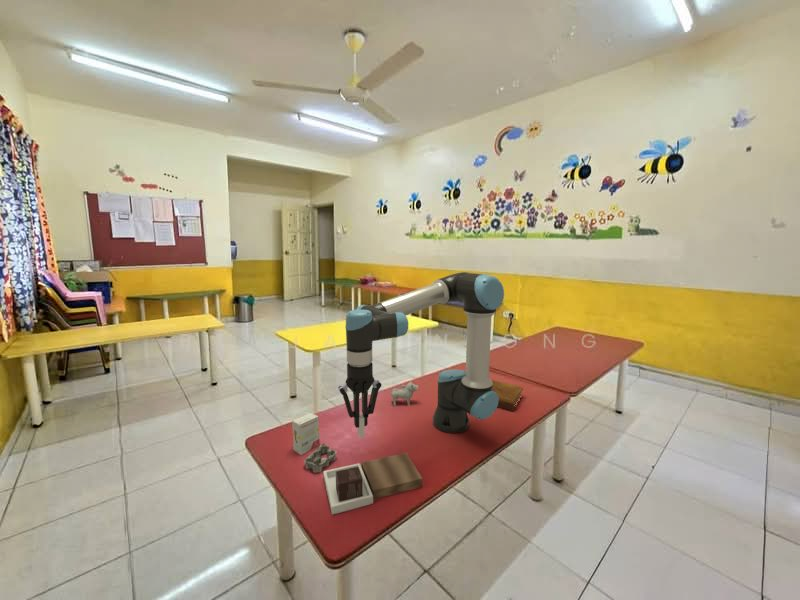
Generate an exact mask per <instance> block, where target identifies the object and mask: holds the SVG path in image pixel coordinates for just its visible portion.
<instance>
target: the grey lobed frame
mask: <svg viewBox="0 0 800 600" xmlns="http://www.w3.org/2000/svg"><path fill="white" fill-rule="evenodd" d="M316 448H317V449H315V450H314V451H313V452H311V453H310V454H309V455H308V456H307V457H306V458H305V459H304V460H303V462H304V464H305V469H306V470H310V469H311V470H312V473H314V474H316V473H322V471H323V468H324V467H329V466H330V462H335V461H336V460H337V459H336V454H337V453H338V451H337V450H336V449H335V450H334V449H333V448H331V449H330V447H329V446H328V445H327V444H325V442H323V443H320V445H318V446H317V447H316ZM323 454H327V457H322V458H321V455H323Z"/></svg>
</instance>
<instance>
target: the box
mask: <svg viewBox="0 0 800 600" xmlns="http://www.w3.org/2000/svg"><path fill="white" fill-rule="evenodd" d="M362 482H363V478H362V475H361V472H360V469H359V467H355V468H350V469H345V470H340V471H336V491H337V495H338V500H339V502H340V501H344V500H348V499H352V498H356V497H360V496H363V483H362Z"/></svg>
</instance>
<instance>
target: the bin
mask: <svg viewBox="0 0 800 600" xmlns="http://www.w3.org/2000/svg"><path fill="white" fill-rule="evenodd" d="M355 467H359V469H360V472H361V475H362V478H363V482H362V483H363V496H360V497H356V498H352V499H348V500H344V501H340V502H339V500H338V495H337V491H336V471H340V470H345V469H350V468H355ZM322 471H323V470H322ZM323 480H324V485H325V489H326V490H325V491H326V494H327V498H328V503H329V508H330V513H331V515H332V516H334V515H336V514H340V513H344V512H349V511H351V510H354V509H359V508H362V507H366V506H369V505H373V504H374V500H373V495H372V492H371V490H370V487H369V485H368V482H367V480H366V477H365V475H364V473H363V470H362V464H361V463H359V462H358V463H354V464H351V465H346V466H340V467H336V468H332V469H331V468H330V469H328V470H324V471H323Z"/></svg>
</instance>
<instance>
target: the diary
mask: <svg viewBox="0 0 800 600" xmlns="http://www.w3.org/2000/svg"><path fill="white" fill-rule="evenodd" d="M491 380H492V379H491ZM492 382H493V388H492V390H493V391H494V392H496V393H497V395H498V397H499V402H498V406H497V408H496V409H500V408H501V409H502V410H504V409H505V410H506V411H508V410H509V412H512V411H513V412H514V411H515V409H516V408H515V406H516V405H515V404H516V402H517V401H518V399H519V398H520V396H522V395H521V394H522V391H523V390H524V387H523V386H519V385H516V384H515V385H514V384H510V383H507V382H502V381H497V380H492ZM518 402H519V403H520V401H518ZM518 402H517V403H518ZM519 403H518V404H519ZM514 405H515V406H514ZM516 407H517V406H516ZM501 409H500V410H501ZM505 410H504V411H505Z"/></svg>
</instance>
